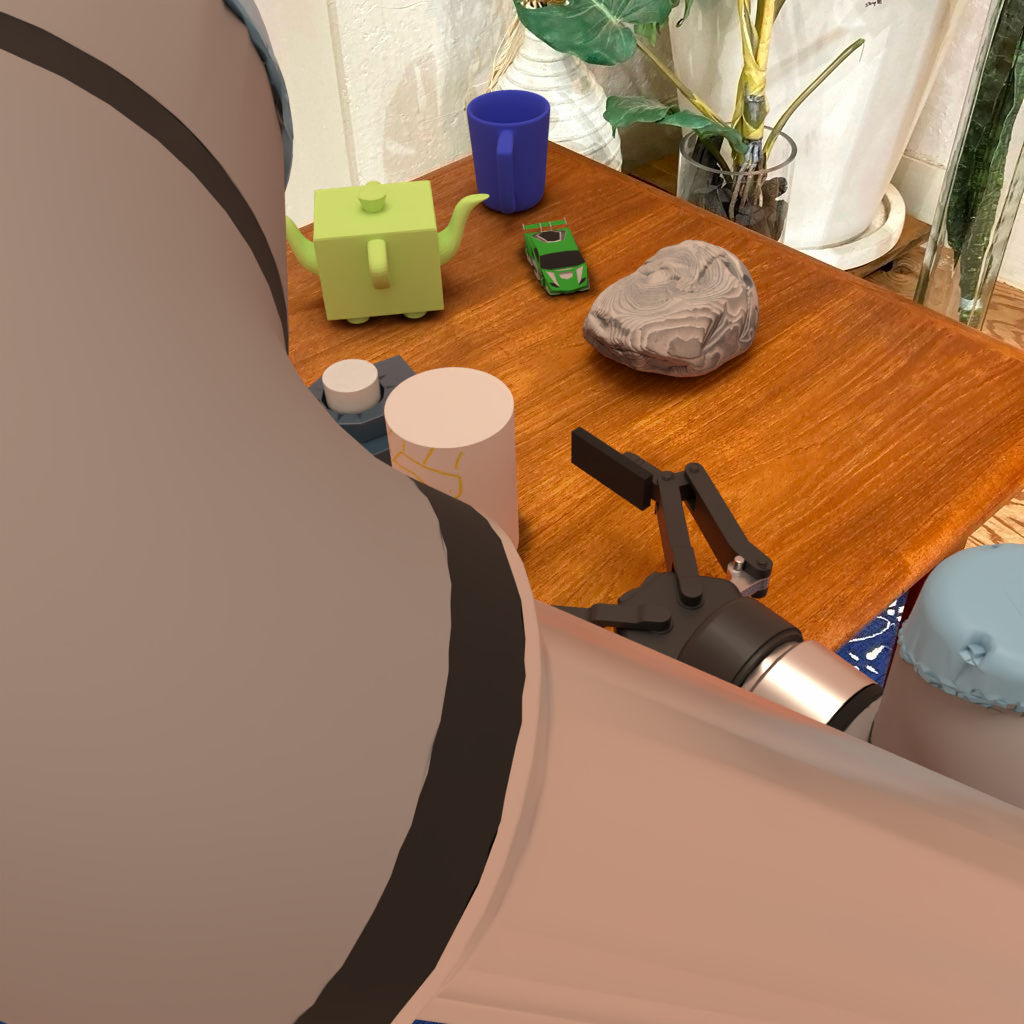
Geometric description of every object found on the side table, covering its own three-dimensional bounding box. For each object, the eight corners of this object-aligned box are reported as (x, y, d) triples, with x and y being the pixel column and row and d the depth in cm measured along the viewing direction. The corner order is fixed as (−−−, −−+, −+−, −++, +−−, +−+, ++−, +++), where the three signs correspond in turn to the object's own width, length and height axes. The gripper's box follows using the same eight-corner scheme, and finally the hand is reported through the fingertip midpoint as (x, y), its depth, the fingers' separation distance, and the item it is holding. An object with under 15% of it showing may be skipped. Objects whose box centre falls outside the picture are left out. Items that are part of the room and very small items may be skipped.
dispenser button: (339, 422, 77) (335, 398, 75) (317, 393, 79) (313, 369, 78) (390, 403, 78) (387, 379, 76) (367, 375, 80) (363, 352, 79)
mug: (465, 239, 105) (459, 143, 99) (475, 182, 114) (469, 89, 107) (548, 239, 105) (548, 142, 98) (551, 181, 114) (551, 88, 107)
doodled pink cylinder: (381, 533, 76) (360, 400, 68) (474, 485, 80) (464, 352, 71) (446, 601, 71) (431, 466, 63) (542, 546, 75) (540, 411, 66)
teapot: (274, 309, 97) (250, 202, 90) (368, 245, 105) (353, 141, 98) (406, 361, 91) (392, 250, 84) (495, 288, 99) (490, 180, 92)
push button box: (316, 523, 77) (303, 461, 73) (266, 447, 83) (251, 386, 79) (462, 464, 81) (457, 402, 77) (404, 396, 88) (396, 335, 83)
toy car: (595, 291, 98) (595, 269, 96) (545, 299, 97) (545, 277, 96) (567, 237, 105) (567, 216, 103) (520, 244, 104) (519, 223, 103)
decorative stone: (584, 371, 84) (606, 242, 80) (568, 332, 96) (586, 218, 93) (764, 394, 85) (794, 268, 81) (725, 352, 98) (749, 241, 94)
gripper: (594, 880, 53) (344, 636, 64) (889, 615, 64) (632, 449, 76) (598, 799, 48) (325, 549, 59) (918, 526, 59) (637, 362, 71)
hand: (497, 492), depth 68 cm, fingers open, 13 cm apart
